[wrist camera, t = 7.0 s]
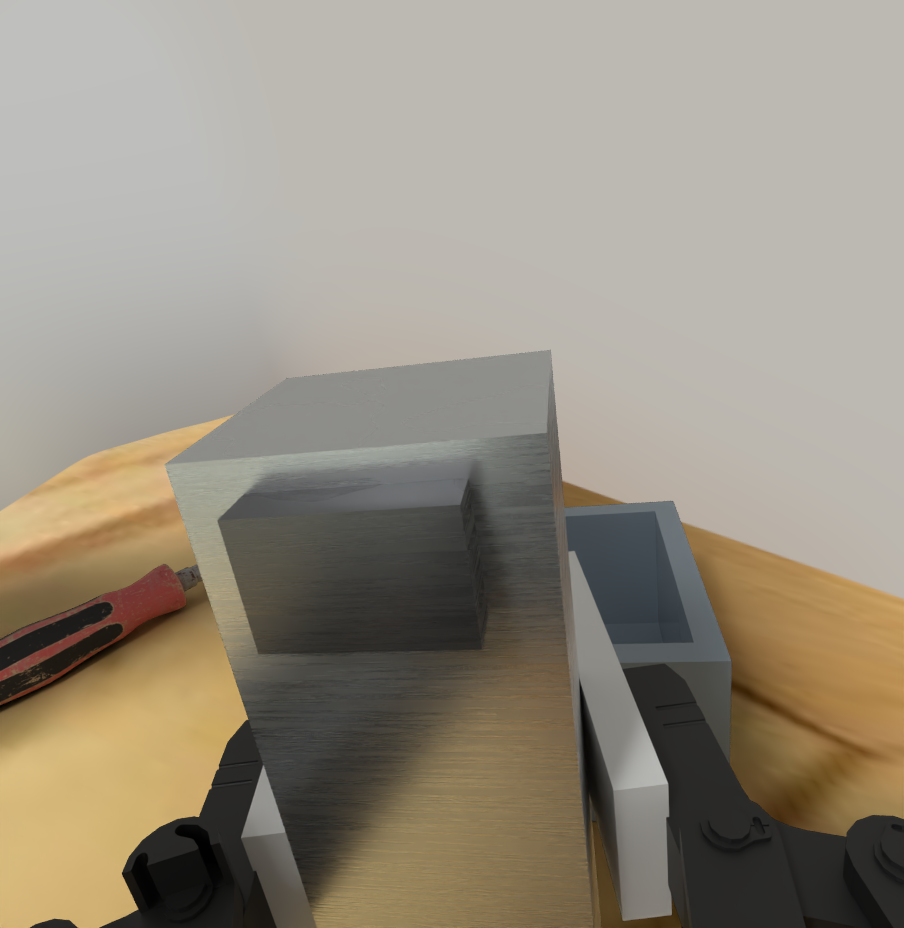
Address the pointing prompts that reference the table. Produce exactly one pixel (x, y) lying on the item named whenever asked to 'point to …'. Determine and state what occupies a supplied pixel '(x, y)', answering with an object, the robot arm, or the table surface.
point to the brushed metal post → (406, 638)
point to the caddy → (654, 599)
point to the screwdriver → (87, 630)
